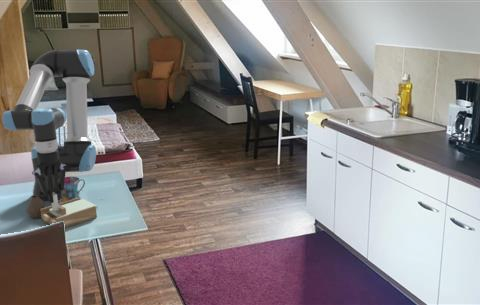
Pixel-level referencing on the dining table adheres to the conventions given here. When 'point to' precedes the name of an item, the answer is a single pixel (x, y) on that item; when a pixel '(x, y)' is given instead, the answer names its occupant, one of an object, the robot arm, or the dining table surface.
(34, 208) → the vase
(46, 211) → the box
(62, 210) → the lid
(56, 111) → the robot arm
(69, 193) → the mug
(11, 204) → the dining table surface
